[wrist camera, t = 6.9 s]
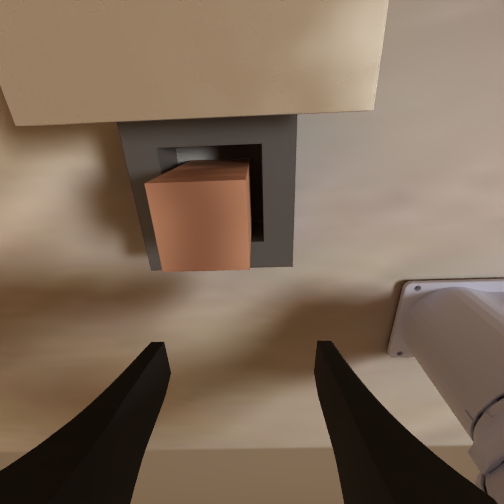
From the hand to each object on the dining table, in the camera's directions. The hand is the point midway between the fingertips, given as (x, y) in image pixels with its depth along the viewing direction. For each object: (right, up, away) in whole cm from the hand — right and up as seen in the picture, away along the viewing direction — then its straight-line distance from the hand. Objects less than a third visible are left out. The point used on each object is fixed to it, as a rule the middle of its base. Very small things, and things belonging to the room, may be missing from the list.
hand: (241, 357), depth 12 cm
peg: (-2, +9, +6) cm, 11 cm away
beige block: (-2, +16, +3) cm, 16 cm away
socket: (-2, +10, +6) cm, 11 cm away
